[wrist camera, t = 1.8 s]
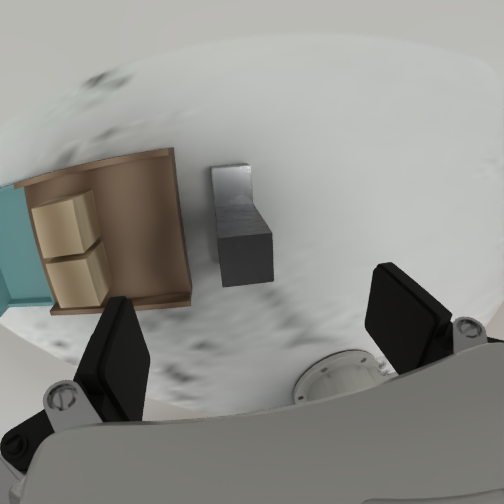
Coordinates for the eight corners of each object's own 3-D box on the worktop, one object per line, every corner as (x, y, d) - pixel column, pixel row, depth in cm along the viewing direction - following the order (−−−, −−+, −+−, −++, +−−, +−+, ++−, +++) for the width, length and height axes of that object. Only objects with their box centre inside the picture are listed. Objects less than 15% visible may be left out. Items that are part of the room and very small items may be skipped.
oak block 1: (92, 189, 21) (72, 199, 17) (101, 235, 22) (84, 252, 19) (54, 197, 20) (31, 209, 17) (64, 240, 22) (43, 258, 18)
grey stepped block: (246, 163, 24) (269, 178, 15) (252, 260, 27) (274, 322, 18) (211, 166, 24) (211, 182, 14) (220, 263, 27) (228, 328, 18)
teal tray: (31, 178, 21) (1, 188, 16) (62, 297, 26) (43, 323, 21) (-18, 194, 20) (-46, 206, 15) (12, 300, 25) (-8, 323, 20)
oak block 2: (102, 240, 22) (85, 259, 19) (113, 282, 24) (99, 305, 20) (65, 246, 22) (45, 264, 18) (77, 285, 24) (60, 308, 20)
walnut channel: (173, 147, 22) (167, 148, 19) (192, 286, 27) (190, 306, 24) (33, 177, 21) (13, 183, 18) (64, 297, 26) (51, 315, 23)
